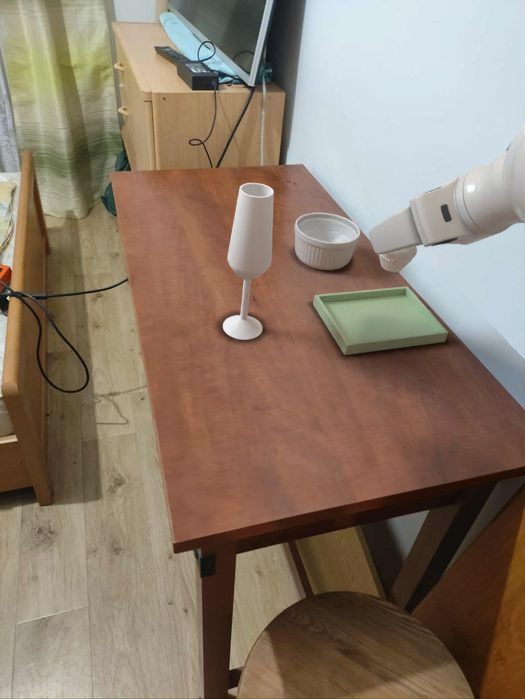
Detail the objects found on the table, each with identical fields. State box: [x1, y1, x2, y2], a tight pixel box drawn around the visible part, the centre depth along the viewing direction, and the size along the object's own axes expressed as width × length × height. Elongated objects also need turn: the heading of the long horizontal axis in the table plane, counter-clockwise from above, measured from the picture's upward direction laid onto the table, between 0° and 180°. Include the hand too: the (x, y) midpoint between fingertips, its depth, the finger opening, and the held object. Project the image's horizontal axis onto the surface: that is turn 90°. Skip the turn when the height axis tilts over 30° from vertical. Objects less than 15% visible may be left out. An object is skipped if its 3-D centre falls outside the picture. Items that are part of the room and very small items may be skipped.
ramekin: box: [293, 212, 361, 271], centre depth 104 cm, size 13×13×7 cm
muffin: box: [378, 246, 418, 273], centre depth 79 cm, size 6×6×7 cm
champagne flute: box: [222, 182, 275, 341], centre depth 78 cm, size 7×7×24 cm
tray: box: [312, 285, 449, 356], centre depth 90 cm, size 19×14×2 cm
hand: (395, 241), depth 79 cm, fingers closed on muffin, 6 cm apart
